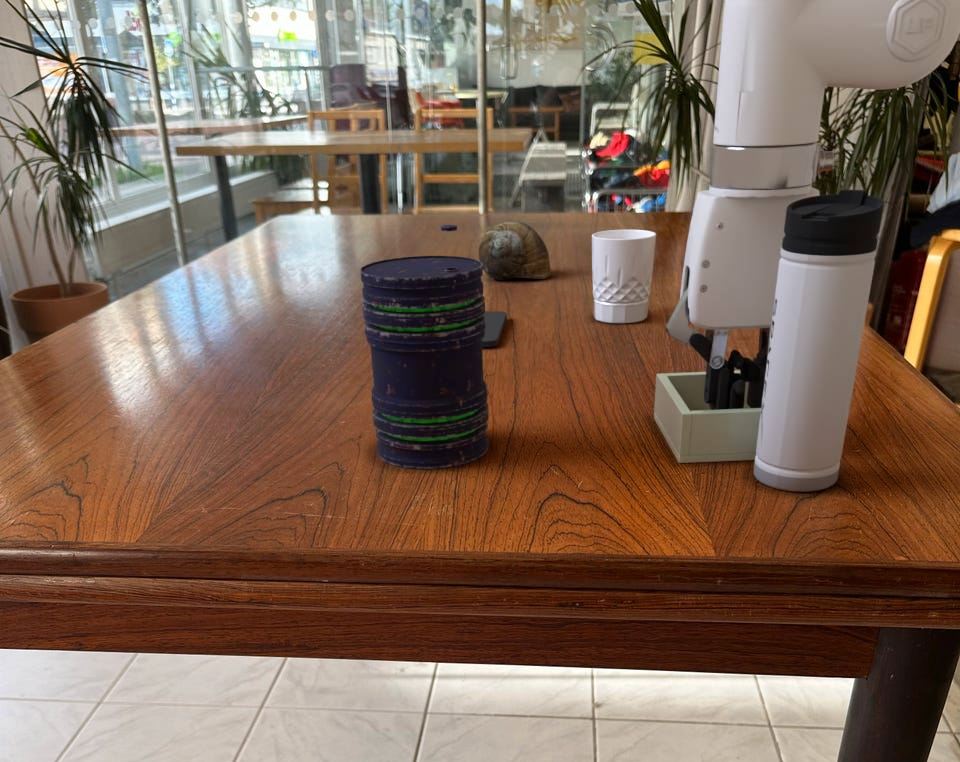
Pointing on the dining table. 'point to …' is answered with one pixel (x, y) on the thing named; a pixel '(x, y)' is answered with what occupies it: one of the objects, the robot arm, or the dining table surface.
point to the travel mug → (816, 338)
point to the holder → (703, 421)
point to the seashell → (514, 252)
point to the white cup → (622, 274)
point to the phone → (493, 327)
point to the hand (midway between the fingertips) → (736, 408)
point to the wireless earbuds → (739, 379)
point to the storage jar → (427, 359)
